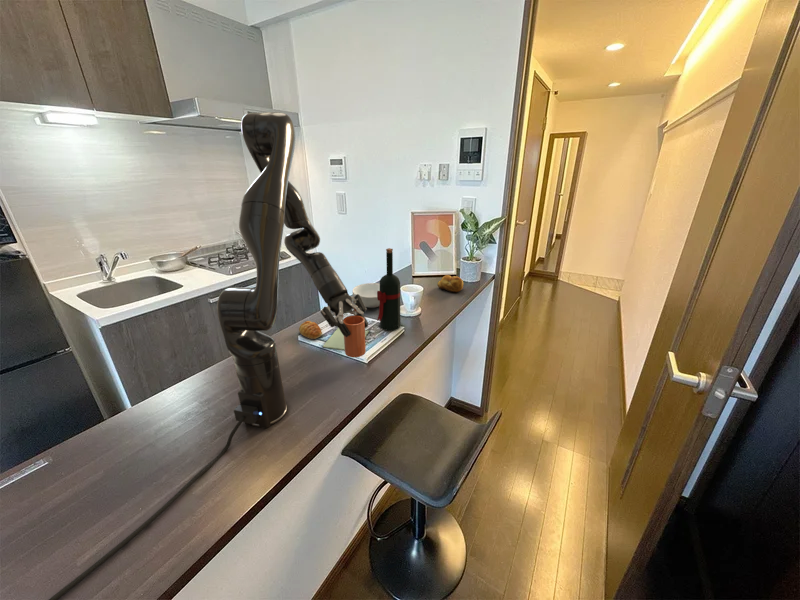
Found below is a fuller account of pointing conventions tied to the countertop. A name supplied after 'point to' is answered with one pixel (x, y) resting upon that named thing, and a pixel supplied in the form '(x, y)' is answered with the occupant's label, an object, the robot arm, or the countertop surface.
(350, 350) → the cup
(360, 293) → the cereal bowl
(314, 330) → the pastry
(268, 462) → the countertop surface
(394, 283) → the wine bottle
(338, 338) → the board
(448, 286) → the bread roll
